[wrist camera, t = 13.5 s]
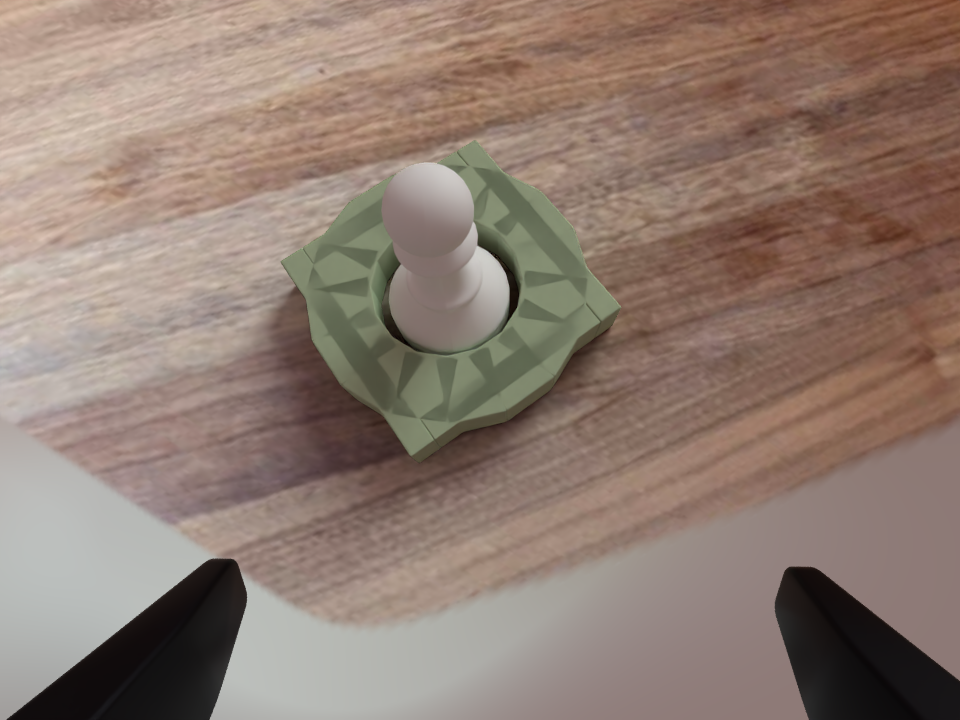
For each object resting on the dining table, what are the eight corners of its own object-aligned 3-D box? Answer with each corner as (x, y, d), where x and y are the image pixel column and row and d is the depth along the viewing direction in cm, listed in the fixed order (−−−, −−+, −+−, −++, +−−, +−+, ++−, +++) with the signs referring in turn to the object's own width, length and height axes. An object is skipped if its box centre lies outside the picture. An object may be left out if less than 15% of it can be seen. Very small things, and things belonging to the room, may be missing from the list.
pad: (413, 488, 22) (404, 484, 20) (276, 279, 25) (257, 258, 23) (636, 328, 24) (647, 310, 22) (481, 149, 27) (479, 120, 25)
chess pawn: (393, 262, 25) (333, 121, 17) (504, 251, 25) (501, 103, 16) (397, 368, 24) (334, 273, 15) (515, 357, 24) (519, 254, 15)
